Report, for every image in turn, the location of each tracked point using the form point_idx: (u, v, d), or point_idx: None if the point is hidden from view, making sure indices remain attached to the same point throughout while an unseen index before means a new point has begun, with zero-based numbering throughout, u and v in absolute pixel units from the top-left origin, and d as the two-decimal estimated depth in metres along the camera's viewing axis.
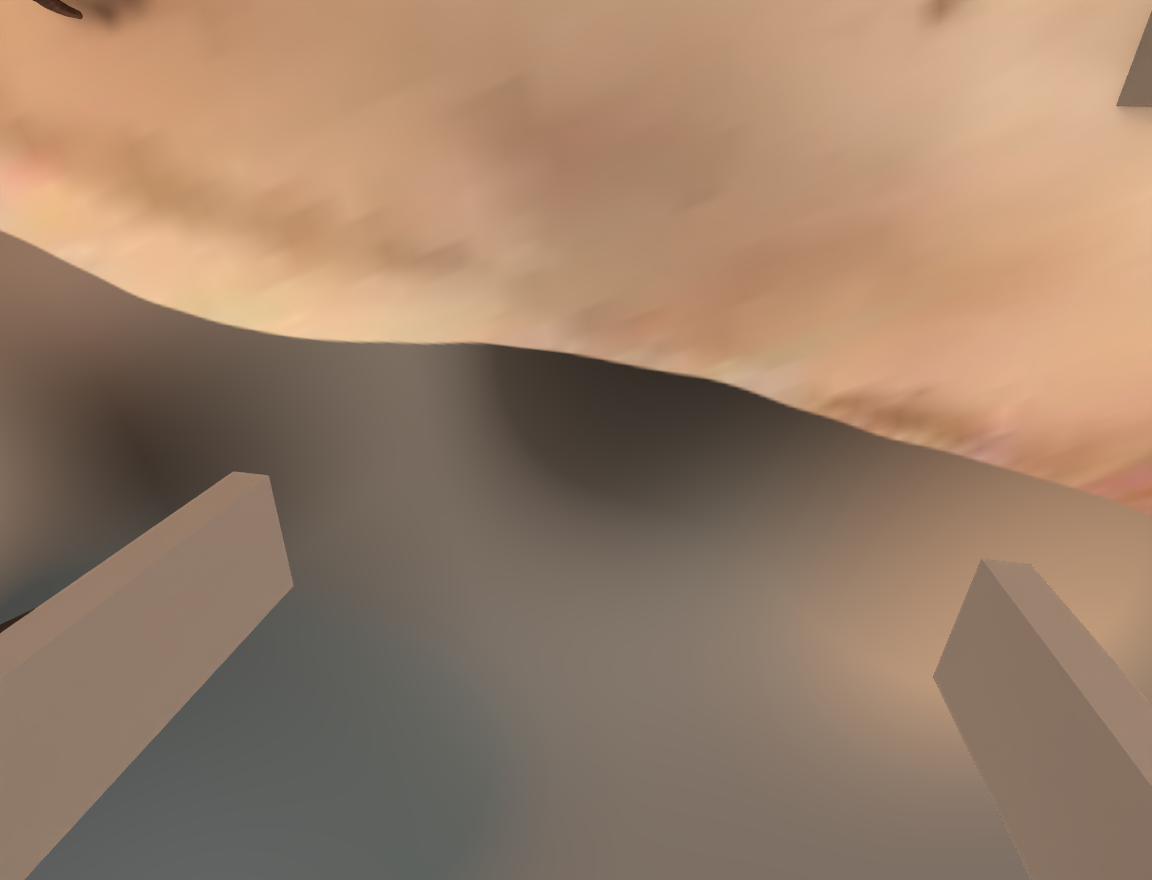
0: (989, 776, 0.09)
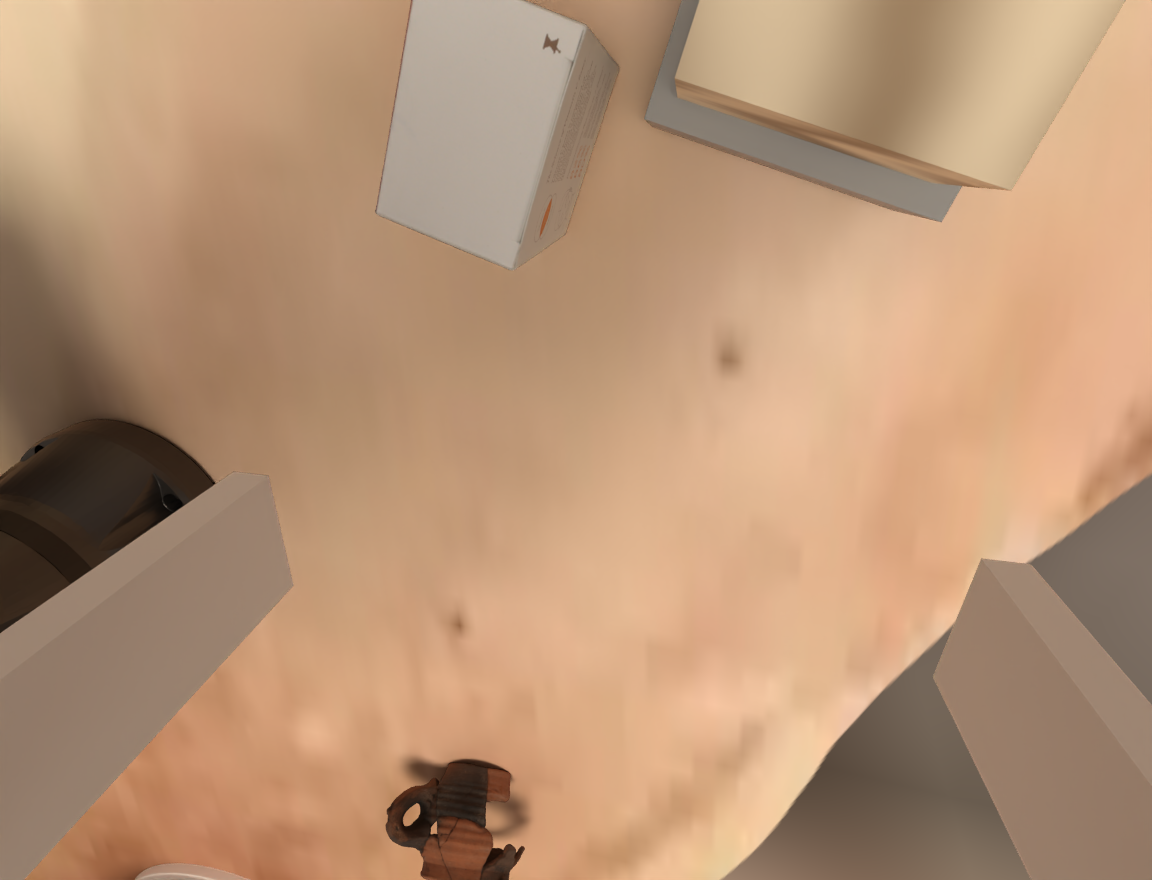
0: (990, 777, 0.09)
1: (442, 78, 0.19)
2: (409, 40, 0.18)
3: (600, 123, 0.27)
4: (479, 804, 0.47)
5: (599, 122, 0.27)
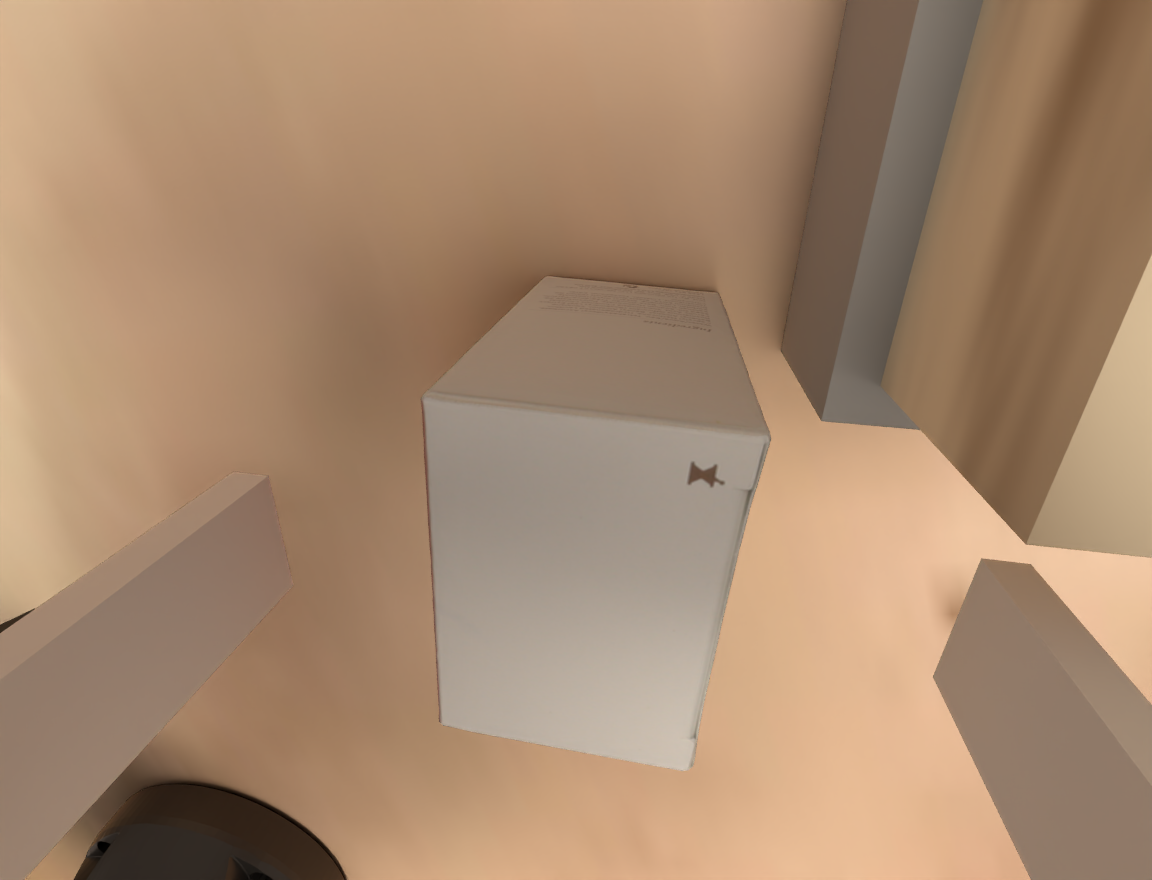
0: (990, 777, 0.09)
1: (507, 553, 0.10)
2: (436, 511, 0.10)
3: None
4: None
5: None
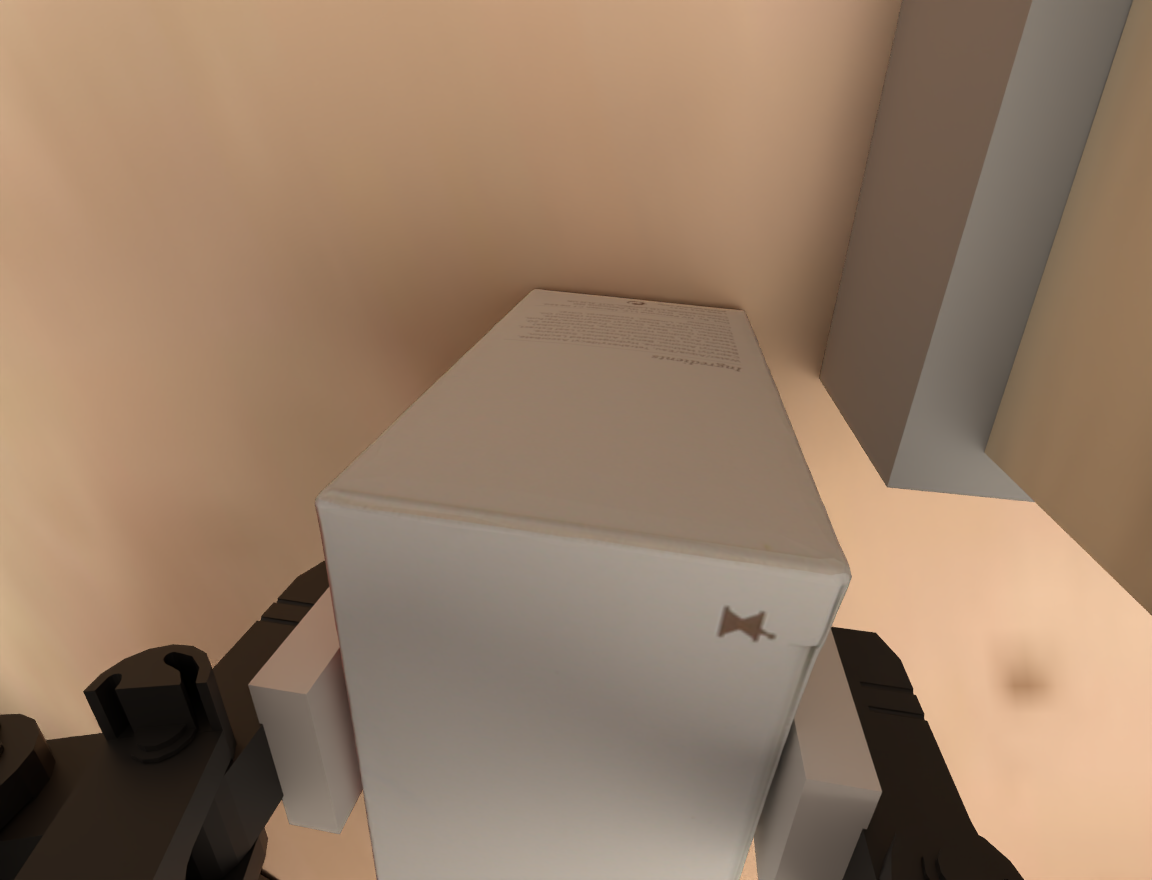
0: None
1: (452, 712, 0.07)
2: (349, 650, 0.07)
3: None
4: None
5: None
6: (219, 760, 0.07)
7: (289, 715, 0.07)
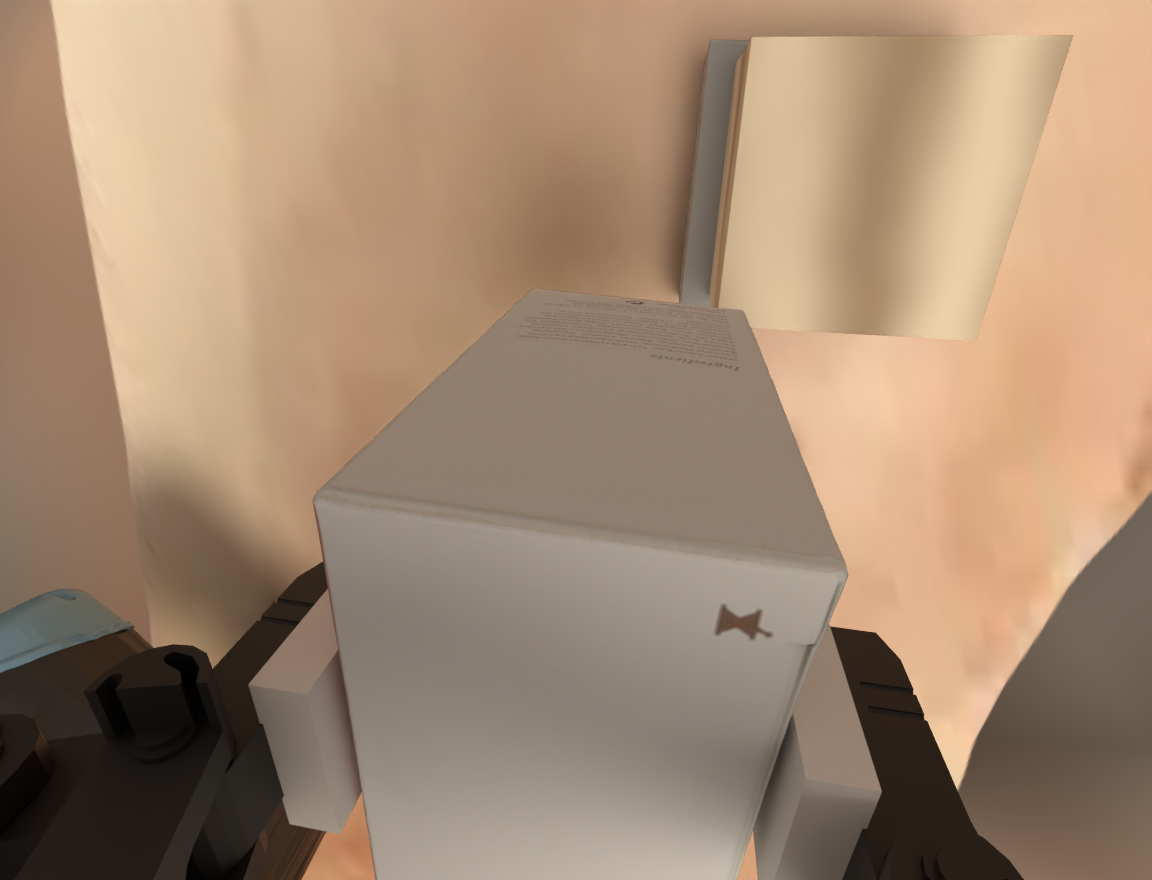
0: None
1: (450, 711, 0.07)
2: (347, 649, 0.07)
3: None
4: None
5: None
6: (219, 760, 0.07)
7: (289, 715, 0.07)
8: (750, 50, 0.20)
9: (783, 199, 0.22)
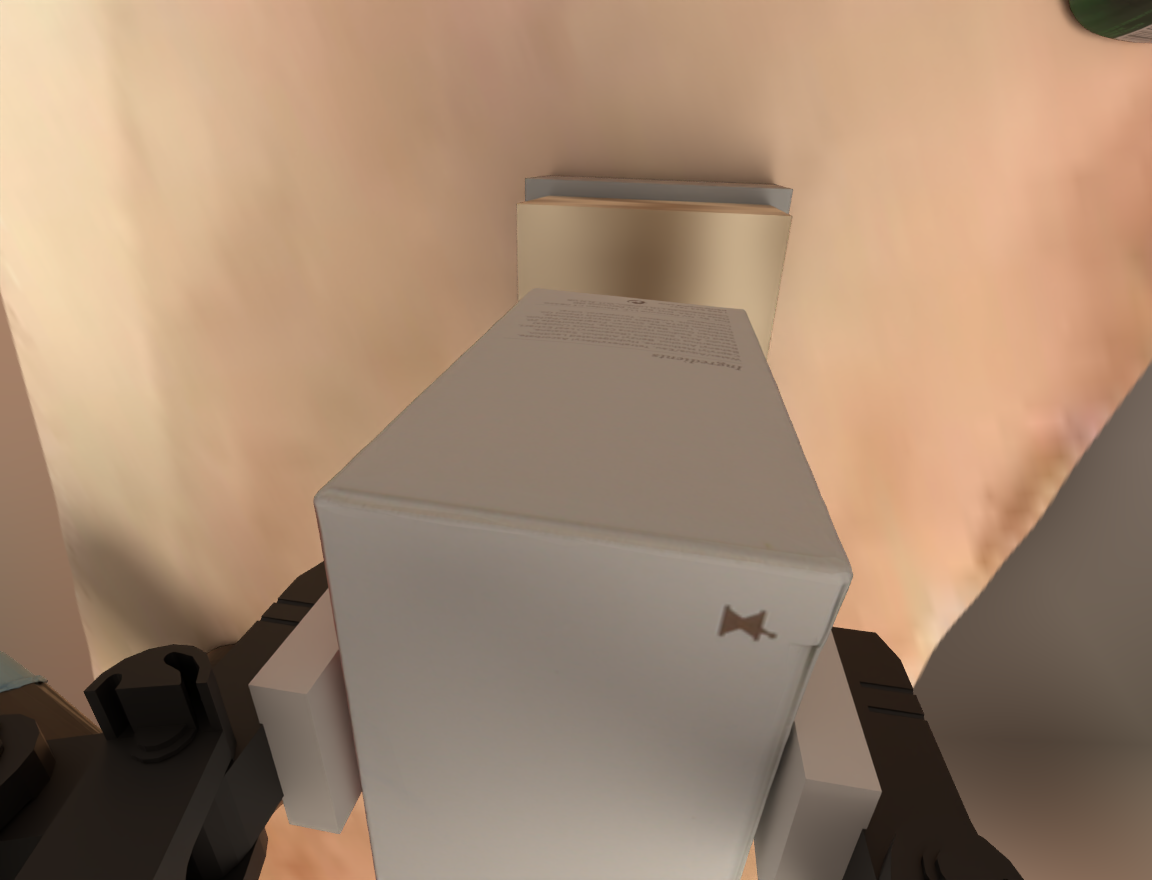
0: None
1: (451, 711, 0.07)
2: (348, 650, 0.07)
3: None
4: None
5: None
6: (219, 760, 0.06)
7: (289, 715, 0.07)
8: (517, 214, 0.22)
9: None
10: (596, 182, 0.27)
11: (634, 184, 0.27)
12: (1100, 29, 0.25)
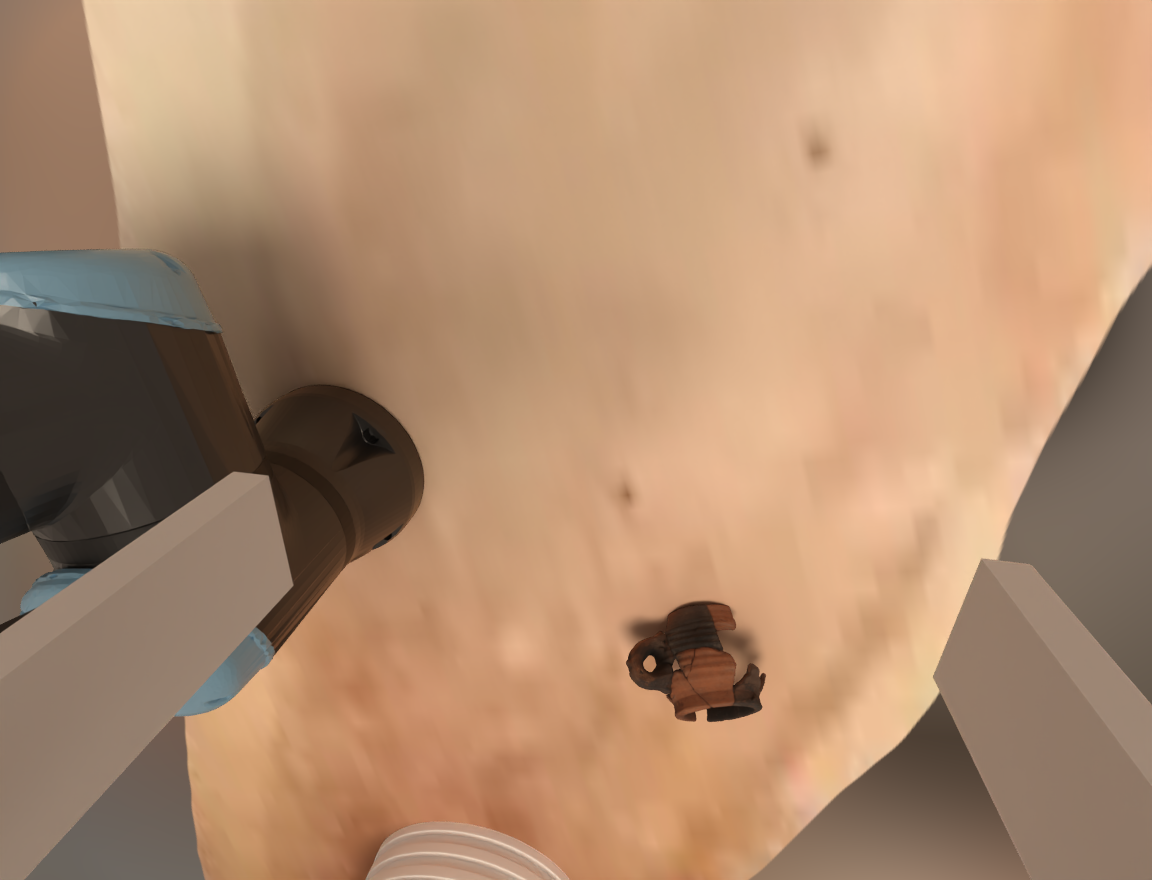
0: (989, 777, 0.09)
1: None
2: None
3: None
4: (710, 633, 0.49)
5: None
6: None
7: None
8: None
9: None
10: None
11: None
12: None
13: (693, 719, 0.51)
